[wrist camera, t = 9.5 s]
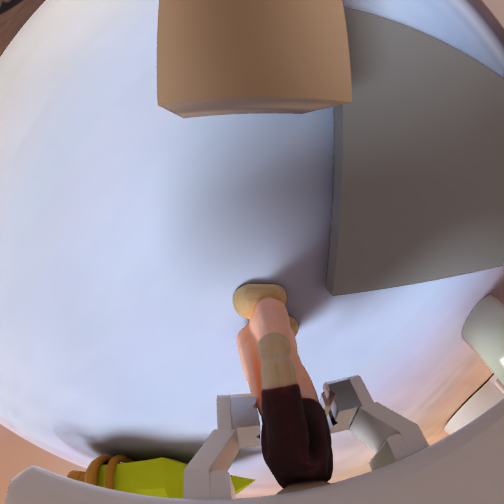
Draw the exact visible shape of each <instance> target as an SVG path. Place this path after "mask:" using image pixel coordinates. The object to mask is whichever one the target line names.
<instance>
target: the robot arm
mask: <svg viewBox="0 0 504 504" xmlns="http://www.w3.org/2000/svg"><path fill="white" fill-rule="evenodd" d="M323 390H324V392H323V393H322V394H321V398H320V404H321V405H322V408H323V409H324V410H325V413H326V416H327V420H328V424H329V429H330V434H331V433H335V432H340V431H344V430H348V429H349V431H350V432H351V433H353V434H354V435H355V436H356V437H358V438H359V439H360V440H362V441H363V442H364V443H365V444H367V445H368V446H369V447H371V448H372V449H373V450H375V451H376V452H377V453H376V454H375V455H374V457H373V458H372V459H371V461H370V462H369V464H370V466H371V469H372V471H371V472H368V473H365V474H362V475H359V476H356V477H353V478H349V479H346V480H342V481H339V482H335V483H332V484H328V485H324V486H319V487H315V488H311V489H306V490H301V491H296V492H290V493H284V494H277V495H270V496H261V497H251V498H238V499H236V498H235V490H234V487H233V484H232V481H231V478H230V475H229V473H228V472H227V471H228V469H229V467H230V466H231V464H232V462H233V460H234V459H235V457H236V455H237V454H238V452H239V450H240V448H245V447H254V446H260V421H259V415H258V411H257V403H256V396H255V393H251V394H237V395H218V396H217V425H218V429H215V430H213V432H212V433H211V434H210V436H209V437H208V438H207V440H206V441H205V442H204V444H203V445H202V446H201V448H200V449H199V450H198V452H197V453H196V454H195V456H194V457H193V458H192V460H191V461H190V462H189V463H188V465H187V466H186V467H185V469H184V486H183V499H180V498H166V497H156V496H148V495H141V494H134V493H128V492H123V491H118V490H113V489H108V488H104V487H100V486H96V485H92V484H88V483H84V482H81V481H77V480H74V479H71V478H68V477H65V476H62V475H59V474H56V473H53V472H51V471H48V470H45V469H42V468H40V467H37V466H30V467H28V468H26V469H25V470H23V471H22V472H20V473H19V474H17V475H16V476H15V477H14V478H12V480H11V481H10V484H9V487H8V492H7V497H6V502H5V504H504V386H503V384H502V383H501V382H500V381H499V380H498V378H497V377H496V376H495V375H493V376H492V377H491V378H490V379H489V381H488V382H487V383H486V384H485V385H484V386H482V387H481V388H480V389H479V390H478V391H477V392H476V393H475V394H474V395H473V396H472V397H471V398H470V399H469V400H468V401H467V402H466V403H465V404H464V405H463V406H462V407H461V408H460V409H459V410H458V411H457V412H456V414H455V415H454V416H453V417H452V418H451V419H450V420H449V422H448V423H447V425H446V426H445V428H444V431H446V432H447V433H448V434H449V436H447V437H445V438H443V439H442V440H440V441H438V442H436V443H434V444H432V445H430V446H429V445H428V443H427V441H426V439H425V437H424V435H423V434H422V432H421V430H420V428H419V426H418V425H417V424H416V423H414V422H412V421H410V420H408V419H406V418H405V417H403V416H401V415H399V414H397V413H396V412H394V411H392V410H390V409H388V408H387V407H385V406H383V405H382V404H380V403H378V402H375V403H374V402H373V400H372V398H371V396H370V394H369V392H368V390H367V388H366V386H365V384H364V383H363V381H362V379H361V377H360V376H359V375H356V376H352V377H348V378H343V379H338V380H334V381H329V382H325V383H324V385H323Z"/></svg>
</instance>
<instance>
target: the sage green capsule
mask: <svg viewBox="0 0 504 504" xmlns="http://www.w3.org/2000/svg"><path fill="white" fill-rule="evenodd" d="M462 338H463V339H464V341H465V342H466V343H467V344H468V345H469V346H470V347H471V348H472V349H473V350H474V352H475V353H476V354H477V355H478V356H479V357H480V358H481V359H482V361H483V362H484V363H485V364H486V365H487V366H488V368H489V369H490V370H491V371H492V372H493V373H494V375H495V376H496V377H497V378H498V380H499V381H500V382H501V383H502V384H503V386H504V304H503V303H502V302H501V301H499V300H498V299H497V298H496V297H495V296H493V295H487V296H486V297H484V298H483V299H482V300H480V301H479V302H478V304H477V305H476V306H475V307H474V308H473V310H472V311H471V313H470V314H469V316H468V318H467V319H466V321H465V324H464V326H463V329H462Z"/></svg>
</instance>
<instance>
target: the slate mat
mask: <svg viewBox="0 0 504 504" xmlns="http://www.w3.org/2000/svg"><path fill="white" fill-rule="evenodd" d="M344 14H345V21H346V28H347V37H348V46H349V57H350V69H351V84H352V102H351V103H346V104H341V105H337V106H334V172H333V198H332V216H331V231H330V244H329V256H328V266H327V276H326V285H325V286H326V288H327V289H328V291H329V292H330V294H331V295H332V296H336V295H344V294H352V293H359V292H366V291H373V290H379V289H386V288H392V287H398V286H404V285H410V284H416V283H422V282H427V281H433V280H438V279H443V278H448V277H453V276H458V275H463V274H468V273H473V272H477V271H482V270H486V269H490V268H495V267H499V266H503V264H504V78H503V77H501V76H500V75H499V74H497V73H496V72H494V71H493V70H491V69H490V68H488V67H487V66H485V65H484V64H482V63H480V62H479V61H477V60H475V59H474V58H472V57H470V56H469V55H467V54H465V53H463V52H462V51H460V50H458V49H456V48H454V47H452V46H450V45H448V44H446V43H444V42H442V41H440V40H438V39H436V38H434V37H432V36H429V35H427V34H425V33H423V32H420V31H418V30H415V29H413V28H410V27H408V26H405V25H403V24H400V23H397V22H394V21H392V20H389V19H386V18H382V17H379V16H376V15H373V14H369V13H366V12H362V11H358V10H354V9H350V8H346V7H344Z"/></svg>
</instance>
